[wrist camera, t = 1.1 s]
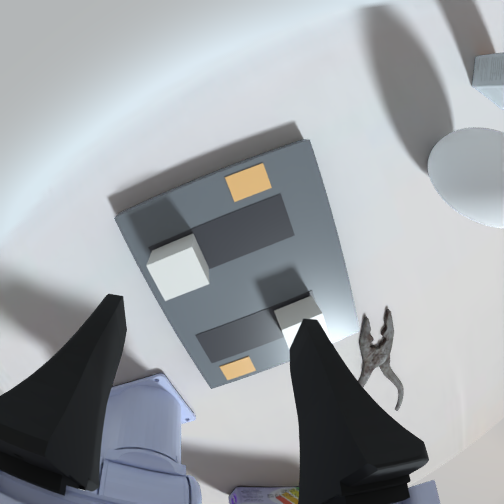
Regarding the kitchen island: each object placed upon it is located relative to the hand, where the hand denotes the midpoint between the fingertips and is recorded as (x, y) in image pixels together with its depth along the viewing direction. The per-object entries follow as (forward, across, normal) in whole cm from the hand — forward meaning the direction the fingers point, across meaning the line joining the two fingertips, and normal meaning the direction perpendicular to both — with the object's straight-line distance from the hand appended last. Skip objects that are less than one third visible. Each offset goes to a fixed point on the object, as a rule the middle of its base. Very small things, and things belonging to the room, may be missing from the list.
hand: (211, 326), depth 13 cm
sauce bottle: (+18, -20, -5) cm, 27 cm away
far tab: (+11, -8, +10) cm, 17 cm away
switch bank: (+13, -4, +8) cm, 16 cm away
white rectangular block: (+11, +2, +6) cm, 13 cm away
